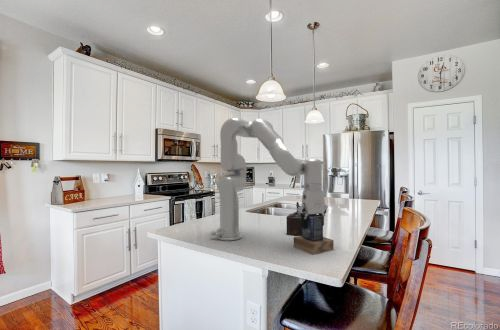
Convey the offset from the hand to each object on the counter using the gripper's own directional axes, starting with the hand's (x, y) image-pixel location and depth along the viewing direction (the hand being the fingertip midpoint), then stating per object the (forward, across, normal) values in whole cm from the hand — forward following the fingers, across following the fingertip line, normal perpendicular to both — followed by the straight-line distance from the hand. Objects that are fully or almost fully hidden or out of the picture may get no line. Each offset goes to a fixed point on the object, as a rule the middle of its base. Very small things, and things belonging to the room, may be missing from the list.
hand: (312, 226), depth 110 cm
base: (+9, 0, 0) cm, 9 cm away
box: (+6, 0, 0) cm, 6 cm away
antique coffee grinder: (+10, +12, +20) cm, 25 cm away
